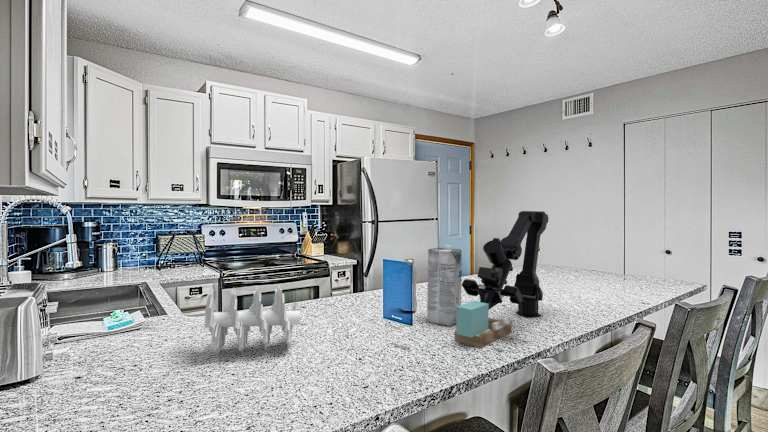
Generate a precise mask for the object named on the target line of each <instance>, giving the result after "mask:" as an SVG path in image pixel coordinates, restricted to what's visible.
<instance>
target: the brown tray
mask: <svg viewBox="0 0 768 432" xmlns="http://www.w3.org/2000/svg"><path fill="white" fill-rule="evenodd" d="M512 324H513V323H512V322H510V318H509V317H506V316H505V317H502V318H501V319H497V318H496V319H495V318H491V317H488V330H487V331H484V332H482V333H480V334H478V335H476V336H474V337H472V338H471V337H467V336H463V335H459V334H456V330H454V342H458V343H461V344H465V345H467V346H468V345H469V346H472V347H476V348H480V349H482V348H484V347H486V346H488V345H489V344H491V343H493V342H495V341H498V340H499V339H501V338H503V337H505V336H507V335H509V334H510V333H512V331H513V330H512V328H513V325H512Z"/></svg>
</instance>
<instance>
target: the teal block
mask: <svg viewBox="0 0 768 432" xmlns="http://www.w3.org/2000/svg"><path fill="white" fill-rule="evenodd" d="M489 310H490V309H489V304H488V303H483V302H480V301H477V300H472V301H468V302H466V303H464V304H461V305H460V306H457V319H456V323H455V324H456V326H455V328H456V330H455V331H456V334H459V335H463V336H467V337H471V338H472V337H474V336H476V335H478V334H480V333H482V332H484V331H487V330H488V318H489Z"/></svg>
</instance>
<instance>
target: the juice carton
mask: <svg viewBox="0 0 768 432" xmlns="http://www.w3.org/2000/svg"><path fill="white" fill-rule="evenodd" d="M427 251H428V254H427V255H428V259H427V302H426V303H427V304H426V306H427V319H428V322H429V323H432V324H439V325H442V326H446V327H451V326H454V325H455V324H456V319H457V306H460V305H462V273H463V271H462V270H463V269H462V267H463V265H462V264H463V263H462V262H463V260H462V259H463V258H462V249H460V248H452V245H451V244H443V247H434V248H429V249H427Z"/></svg>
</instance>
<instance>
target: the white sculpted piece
mask: <svg viewBox="0 0 768 432" xmlns="http://www.w3.org/2000/svg"><path fill="white" fill-rule="evenodd" d="M258 287H259V285H255V290H253V301H252V303H251V305H250V306H249V307H248V308H249V309H248V310H247V311H238V298H237V291H236V288H235V287H232V289H231V293H230V301H229V305H228V307H226V311H214V298H213V294H214V293H213V289H212V288H211V287H209V289H208V290H209V291H208V294H207V295H208V296H207V300H206V304H205V310H204V312H205V314H204V328H205V329H206V328H208V329H209V331H208V332H209V333H210V336H211V338H210V342H211V343H210V344H213V351H216V356H219V355H220V352H222V350H223V347H225V344H226V338H227V337H226V336H227V335H229V334H228V333H229V328H233V332H235V335H236V345H238V351H240V354H243V353H244V350H245V349H246V344H248V337H249V335H248V334H249V333H250V331H251V327H258V328H259V330H258V331H259V332H260V335H261V336H262V337H263V339H262V341H263V342H262V343H263V344H264V351H267V348H268V347H269V344H270V341H271V334H272V330H273V326H275V327H276V326H280V327H281V331H282V332H283V334H284V337H285V338H286V340H285V341H286V349H287V350H288V349H290V346H291V342H292V333H293V332H292V331H293V327H294V326H299V325H300V321H301V311H300V310H297V309H298V302H297V301H294V302H293V303H292V307H291V308H290V310H287V305H285V301H286V300H285V293H283V289H282V287H281V285H280V284H278V285H277V288H275V289H274V300H273V303H272V305H270V306H271V307H270V310H264V304H263V303H262V292H260V288H258Z"/></svg>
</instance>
